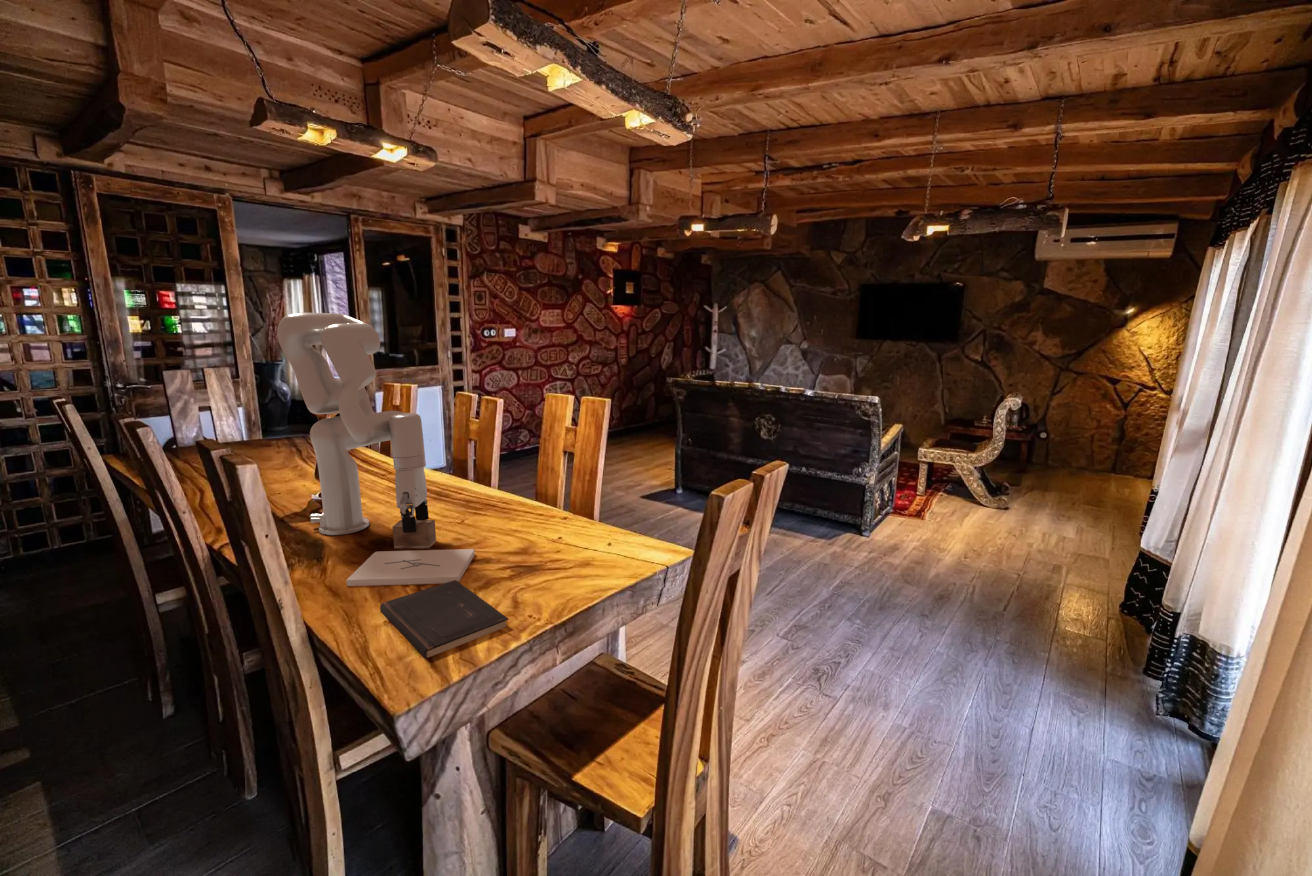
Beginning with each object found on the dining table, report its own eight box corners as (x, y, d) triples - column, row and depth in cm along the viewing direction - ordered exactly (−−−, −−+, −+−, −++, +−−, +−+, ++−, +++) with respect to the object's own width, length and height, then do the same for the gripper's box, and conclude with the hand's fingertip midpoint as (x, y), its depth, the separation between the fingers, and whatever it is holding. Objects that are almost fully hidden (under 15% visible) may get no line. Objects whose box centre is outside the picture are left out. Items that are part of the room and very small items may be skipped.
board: (347, 586, 126) (346, 579, 126) (375, 557, 142) (375, 551, 141) (458, 582, 128) (457, 576, 128) (474, 554, 144) (474, 548, 143)
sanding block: (394, 548, 147) (392, 526, 146) (402, 541, 152) (400, 520, 151) (429, 548, 148) (427, 526, 147) (436, 541, 153) (434, 519, 151)
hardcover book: (456, 589, 126) (455, 579, 126) (508, 629, 110) (508, 618, 109) (380, 614, 115) (379, 603, 115) (426, 662, 99) (425, 650, 98)
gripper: (406, 455, 154) (412, 516, 157) (381, 470, 137) (389, 538, 140) (434, 454, 154) (440, 514, 157) (413, 468, 137) (420, 536, 140)
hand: (416, 525), depth 149 cm, fingers open, 9 cm apart
